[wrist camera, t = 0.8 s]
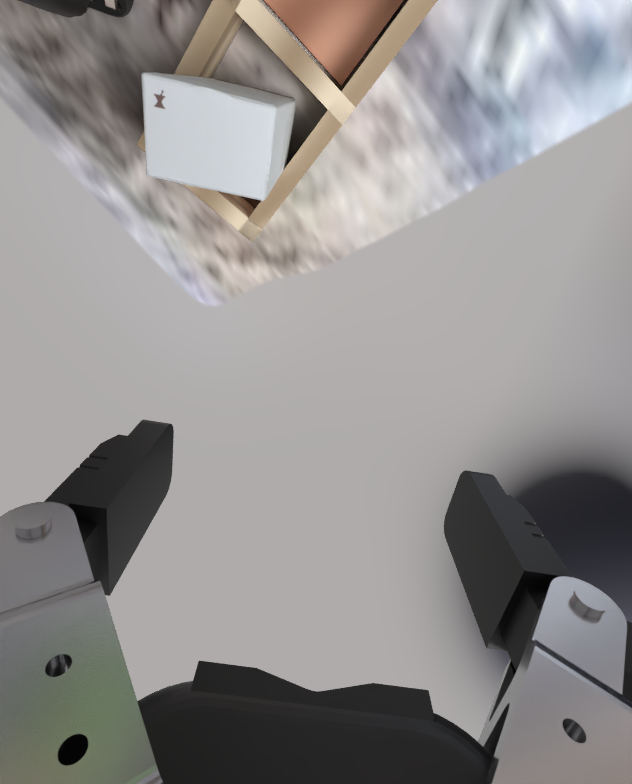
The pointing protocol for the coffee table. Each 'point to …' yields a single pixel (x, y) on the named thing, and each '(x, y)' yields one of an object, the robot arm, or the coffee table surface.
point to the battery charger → (83, 6)
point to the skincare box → (215, 133)
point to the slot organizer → (302, 72)
